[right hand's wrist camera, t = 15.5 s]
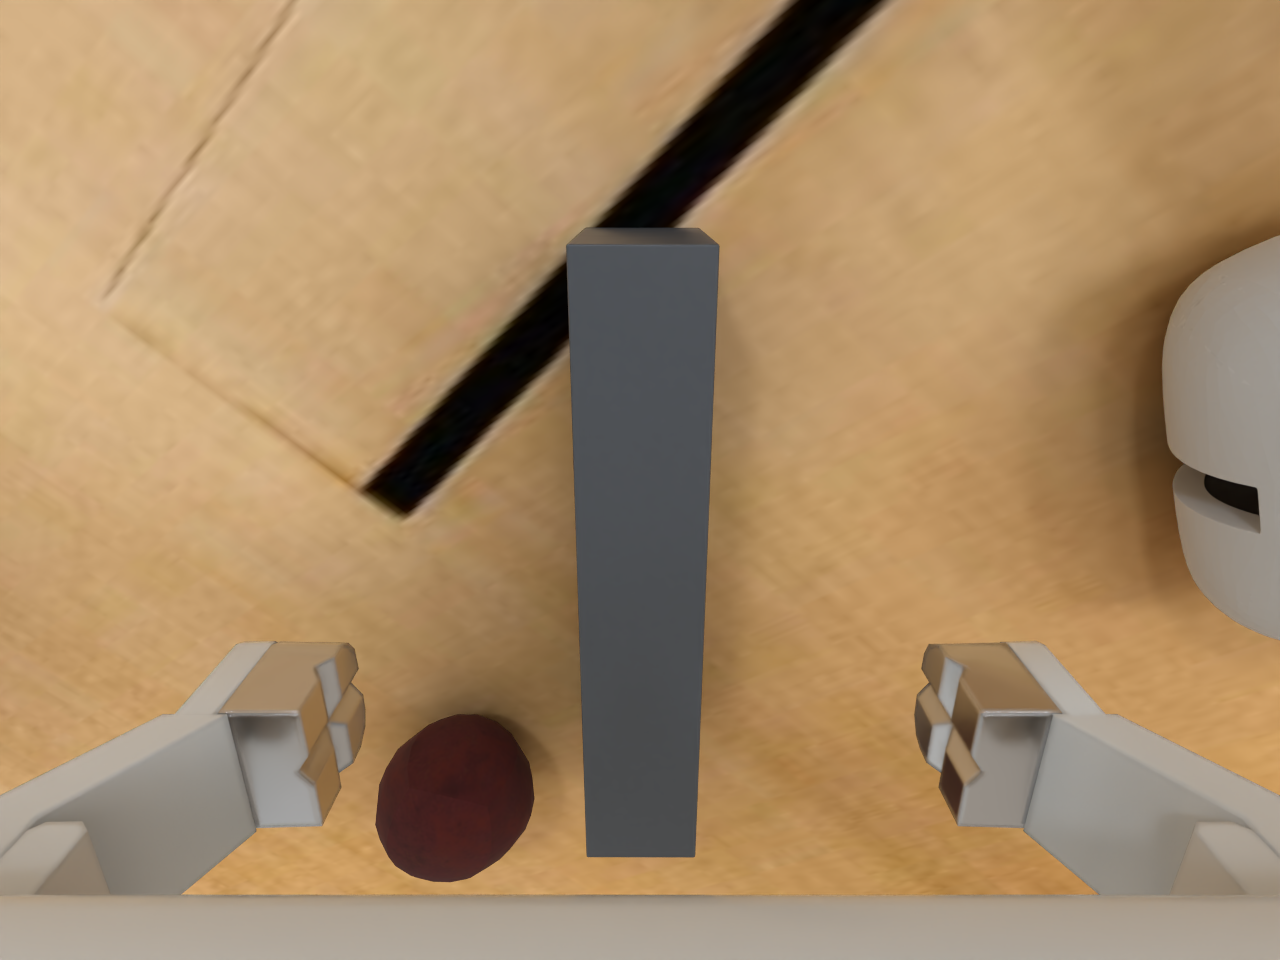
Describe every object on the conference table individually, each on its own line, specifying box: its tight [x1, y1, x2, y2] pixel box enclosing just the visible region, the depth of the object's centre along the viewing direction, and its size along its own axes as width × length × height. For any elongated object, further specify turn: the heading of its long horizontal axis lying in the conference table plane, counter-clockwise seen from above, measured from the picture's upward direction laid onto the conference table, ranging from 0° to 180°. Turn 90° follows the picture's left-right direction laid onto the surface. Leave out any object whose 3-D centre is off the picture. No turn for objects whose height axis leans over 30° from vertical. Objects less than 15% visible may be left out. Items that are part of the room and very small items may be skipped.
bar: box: [566, 228, 719, 857], centre depth 31 cm, size 25×5×8 cm, turn 0°
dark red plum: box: [375, 714, 534, 882], centre depth 36 cm, size 7×8×7 cm
